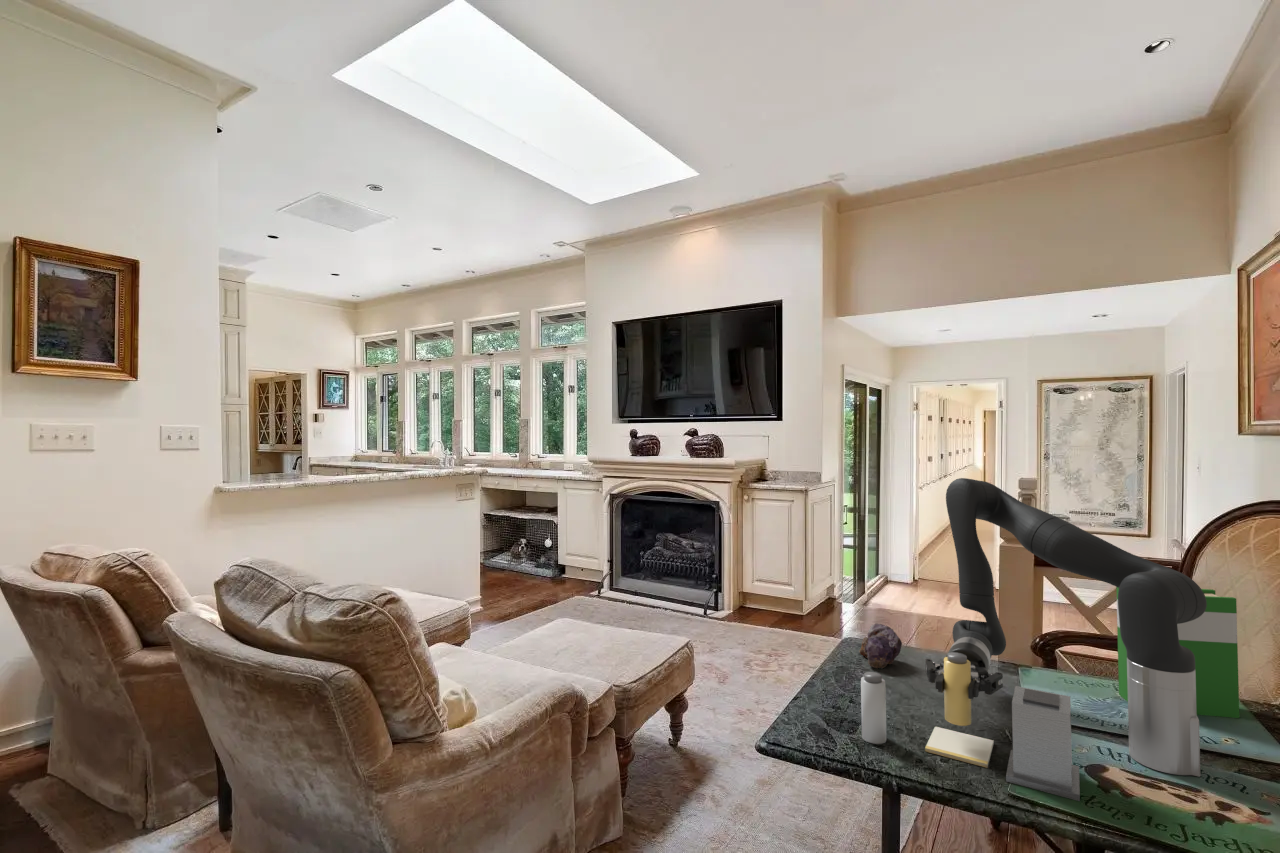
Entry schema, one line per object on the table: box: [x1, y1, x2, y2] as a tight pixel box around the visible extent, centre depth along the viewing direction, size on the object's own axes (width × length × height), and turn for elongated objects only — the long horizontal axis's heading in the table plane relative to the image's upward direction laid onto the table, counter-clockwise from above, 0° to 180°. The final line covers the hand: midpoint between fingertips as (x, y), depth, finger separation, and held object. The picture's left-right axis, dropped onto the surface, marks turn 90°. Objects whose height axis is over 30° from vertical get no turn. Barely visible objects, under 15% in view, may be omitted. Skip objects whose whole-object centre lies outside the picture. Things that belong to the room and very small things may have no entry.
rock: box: [858, 622, 903, 669], centre depth 156 cm, size 12×9×10 cm
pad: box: [924, 726, 995, 769], centre depth 114 cm, size 10×10×1 cm
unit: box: [1005, 685, 1081, 802], centre depth 104 cm, size 10×10×13 cm
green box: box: [1115, 586, 1240, 719], centre depth 130 cm, size 18×7×24 cm, turn 75°
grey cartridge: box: [860, 671, 887, 745], centre depth 118 cm, size 4×4×12 cm
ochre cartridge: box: [943, 652, 972, 727], centre depth 114 cm, size 4×4×12 cm
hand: (955, 690), depth 112 cm, fingers closed on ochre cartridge, 4 cm apart
